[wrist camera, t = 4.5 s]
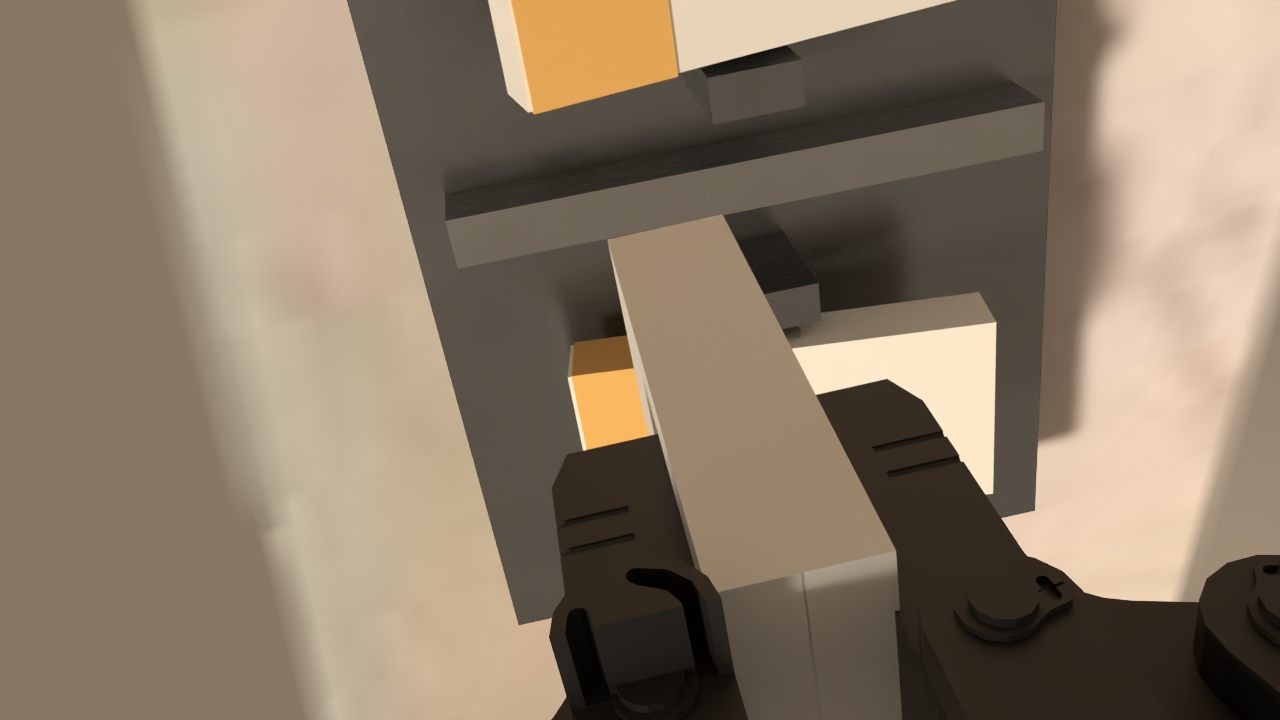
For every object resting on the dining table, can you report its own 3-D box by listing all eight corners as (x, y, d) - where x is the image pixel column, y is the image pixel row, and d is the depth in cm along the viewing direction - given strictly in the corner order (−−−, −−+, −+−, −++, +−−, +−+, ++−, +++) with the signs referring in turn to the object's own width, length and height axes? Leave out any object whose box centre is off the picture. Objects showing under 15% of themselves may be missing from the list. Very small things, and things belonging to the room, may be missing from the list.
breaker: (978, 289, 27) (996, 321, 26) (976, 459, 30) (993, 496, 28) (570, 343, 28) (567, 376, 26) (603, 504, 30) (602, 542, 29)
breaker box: (1010, -541, 24) (1171, -614, 18) (993, 455, 37) (1083, 574, 32) (250, -419, 23) (195, -459, 17) (512, 560, 36) (525, 700, 31)
